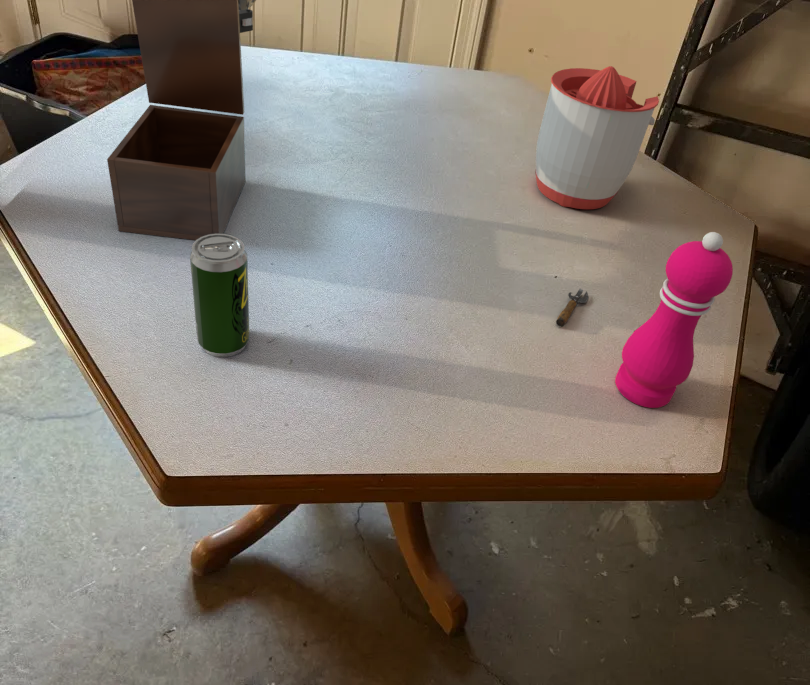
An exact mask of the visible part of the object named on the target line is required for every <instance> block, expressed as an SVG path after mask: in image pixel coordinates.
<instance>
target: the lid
mask: <svg viewBox="0 0 810 685" xmlns="http://www.w3.org/2000/svg"><path fill="white" fill-rule="evenodd" d="M131 2H132V8H133V9H132V10H133V15H134V20H135V26H136V33H137V38H138V44H139V50H140V58H141V63H142V70H143V75H144V81H145V87H146V92H147V99H148V103H150V104H155V105H156V104H157V105H162V106H172V107H180V108H187V109H188V108H189V109H193V110H201V111H203V110H204V111H209V112H210V111H211V112H218V113H224V114H226V113H227V114H232V115H234V114H235V115H241V116H243V115H244V114H245V97H244V80H243V62H242V59H243V58H242V45H241V44H242V42H241V33H240V24H239V6H238V0H131Z"/></svg>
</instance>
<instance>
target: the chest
mask: <svg viewBox="0 0 810 685" xmlns="http://www.w3.org/2000/svg"><path fill="white" fill-rule="evenodd" d="M245 139H246V138H245V117H244V116H242V115H241V116H239V115H234V114H226V113H219V112H218V113H217V112H210V111H209V112H208V111H203V110H195V109H188V108H187V109H185V108H178V107H170V106H164V105H156V104H149V105H148V107H147V108H146V109H145V110H144V112H143V113H142V114H141V116H140V117H139V118H138V119H137V121H136V122H135V123H134V124H133V126H132V127H131V128H130V129H129V131H128V132H127V133H126V134H125V136H124V137H123V138H122V140H121V141H120V142H119V144H118V145H117V146H116V147H115V148H114V149H113V151H112V153H111V154H110V155H109V156H108V158H107V159H106V161H107V168H108V174H109V179H110V187H111V192H112V200H113V205H114V210H115V217H116V224H117V229H118V232H121V233H122V232H123V233H124V232H125V233H131V234H139V235H140V234H141V235H149V236H156V237H163V238H175V239H180V240H181V239H182V240H191V241H196V240H197V239H199V238H200V237H203V236H206V235H209V234H225V231H226V229H227V227H228V224H229V222H230V220H231V217H232V215H233V212H234V210H235V209H236V208H235V207H236V205H237V203H238V201H239V198H240V196H241V193H242V191H243V189H244V186H245V184H246V144H245V143H246V142H245Z"/></svg>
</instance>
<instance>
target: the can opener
mask: <svg viewBox="0 0 810 685" xmlns="http://www.w3.org/2000/svg"><path fill="white" fill-rule="evenodd" d="M583 292H584V290H583V289H582V288H579V289H578V290H577V292H576V294H575V295H572V294H573V292H568V294H567V296H568V298H569V299H570V300H569V301H568V302H567V303H566V306H565V307H564V308H563V309H562V311H561V312H560V313H559V315H558V316H557V318H556V321H555V324H556V325H557V326H558V327H563V326H564V325H565V324H566V323H567V322H568V320H569V319H570V317H571V316H572V313H573V311H574V310H575V308H576V307H577V305H578V304H577V303H579V304H585V303H587V302H588V300H589V293H588V291H585V293H583ZM582 294H584V295H583V296H582V297H581V295H582Z"/></svg>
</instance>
